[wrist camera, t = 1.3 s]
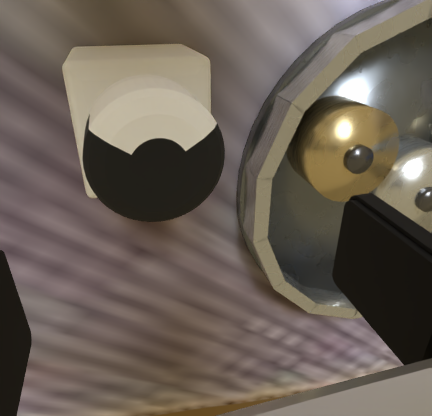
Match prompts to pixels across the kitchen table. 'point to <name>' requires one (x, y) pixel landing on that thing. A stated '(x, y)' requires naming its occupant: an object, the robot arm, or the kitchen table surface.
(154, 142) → the medicine bottle
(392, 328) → the robot arm
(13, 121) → the kitchen table surface
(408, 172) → the carrier
